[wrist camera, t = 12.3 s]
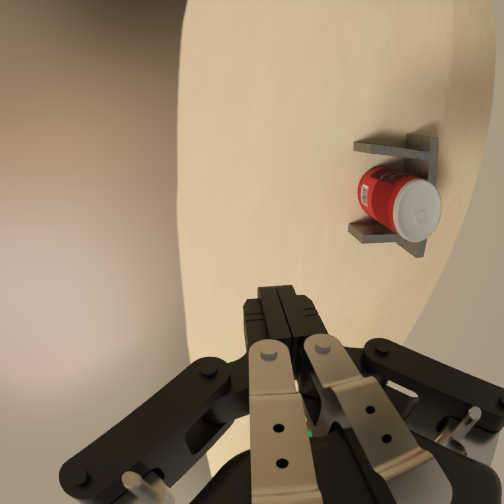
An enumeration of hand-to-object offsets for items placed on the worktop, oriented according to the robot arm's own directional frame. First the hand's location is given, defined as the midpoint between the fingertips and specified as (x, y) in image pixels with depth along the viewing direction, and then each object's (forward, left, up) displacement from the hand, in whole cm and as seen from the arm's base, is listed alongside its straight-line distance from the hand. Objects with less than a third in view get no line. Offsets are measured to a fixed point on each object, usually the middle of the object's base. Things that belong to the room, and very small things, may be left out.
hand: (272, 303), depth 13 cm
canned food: (+11, +18, -27) cm, 34 cm away
